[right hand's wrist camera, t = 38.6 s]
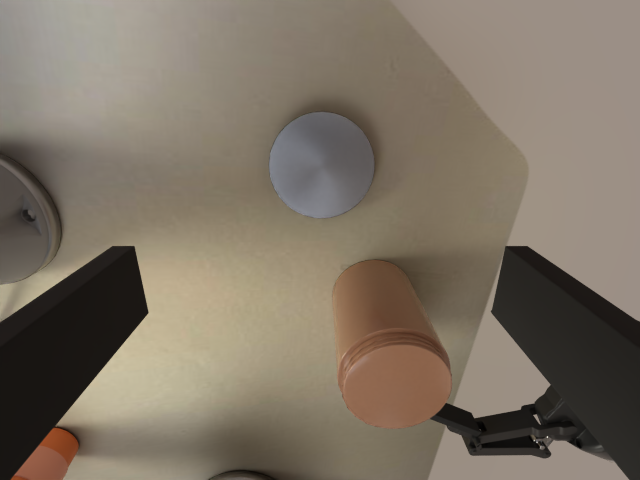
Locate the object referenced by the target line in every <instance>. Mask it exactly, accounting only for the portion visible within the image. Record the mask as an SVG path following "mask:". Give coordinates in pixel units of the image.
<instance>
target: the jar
mask: <svg viewBox="0 0 640 480" xmlns="http://www.w3.org/2000/svg"><path fill="white" fill-rule="evenodd" d="M332 301H333V317H334V332H335V348H336V364H337V379H338V385H339V387H340V390H341V392H342V395H343V399H344V401H345V403H346V405H347V408H348V409H349V410H350V411H351V412H352V413H353V414H354V415H355V417H357V418H359V419H360V420H362V421H364V422H365V423H367V424H370V425H373V426H376V427H382V428H391V429H395V428H406V427H410V426H414V425H417V424H420V423H422V422H424V421H426V420H428V419H430V418H431V417H432V416H434V415H435V414H436V413H437V412H439V411H440V410H441V408H442V407H443V406H444V405H445V403H446V402H447V400H448V398H449V396H450V393H451V388H452V378H451V377H452V374H451V371H450V361H449V358H448V355H447V353H446V351H445V349H444V347H443V345H442V343H441V341H440V339H439V337H438V335H437V333H436V331H435V329H434V327H433V325H432V323H431V322H430V320H429V318H428V316H427V314H426V312H425V310H424V308H423V306H422V304H421V302H420V300H419V298H418V296H417V294H416V292H415V290H414V288H413V286H412V284H411V282H410V280H409V279H408V277H407V275H406V274H405V273H404V272H403V271H402V270H401V269H400V268H399V267H397V266H396V265H394V264H392V263H389V262H386V261H381V260H368V261H363V262H359V263H357V264H354V265H353V266H351V267H349V268H348V269H346V270H345V271H344V272H343V273H342V274H341V275H340V277H339V278H338V279H337V281H336V283H335V285H334V288H333V294H332Z"/></svg>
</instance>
